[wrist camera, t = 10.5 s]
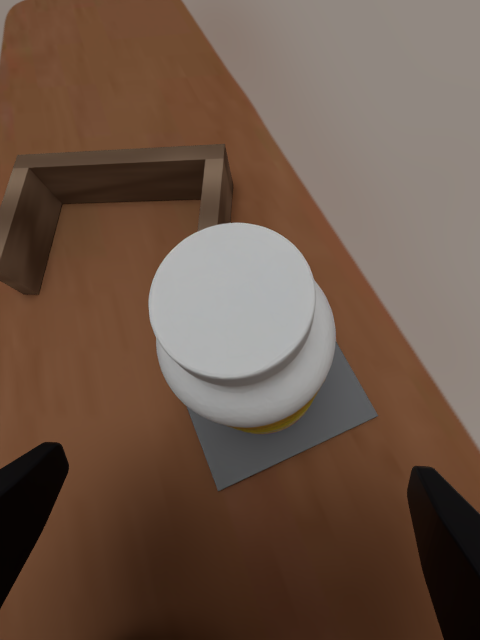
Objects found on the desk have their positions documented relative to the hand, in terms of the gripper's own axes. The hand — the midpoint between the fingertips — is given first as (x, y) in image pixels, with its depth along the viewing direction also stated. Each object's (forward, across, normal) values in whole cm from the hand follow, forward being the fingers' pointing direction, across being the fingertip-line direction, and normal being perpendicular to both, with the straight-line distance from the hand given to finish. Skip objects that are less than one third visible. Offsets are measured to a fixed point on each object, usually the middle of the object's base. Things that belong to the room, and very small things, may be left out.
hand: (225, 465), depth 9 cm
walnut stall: (+19, +11, -2) cm, 22 cm away
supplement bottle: (+12, 0, +6) cm, 13 cm away
